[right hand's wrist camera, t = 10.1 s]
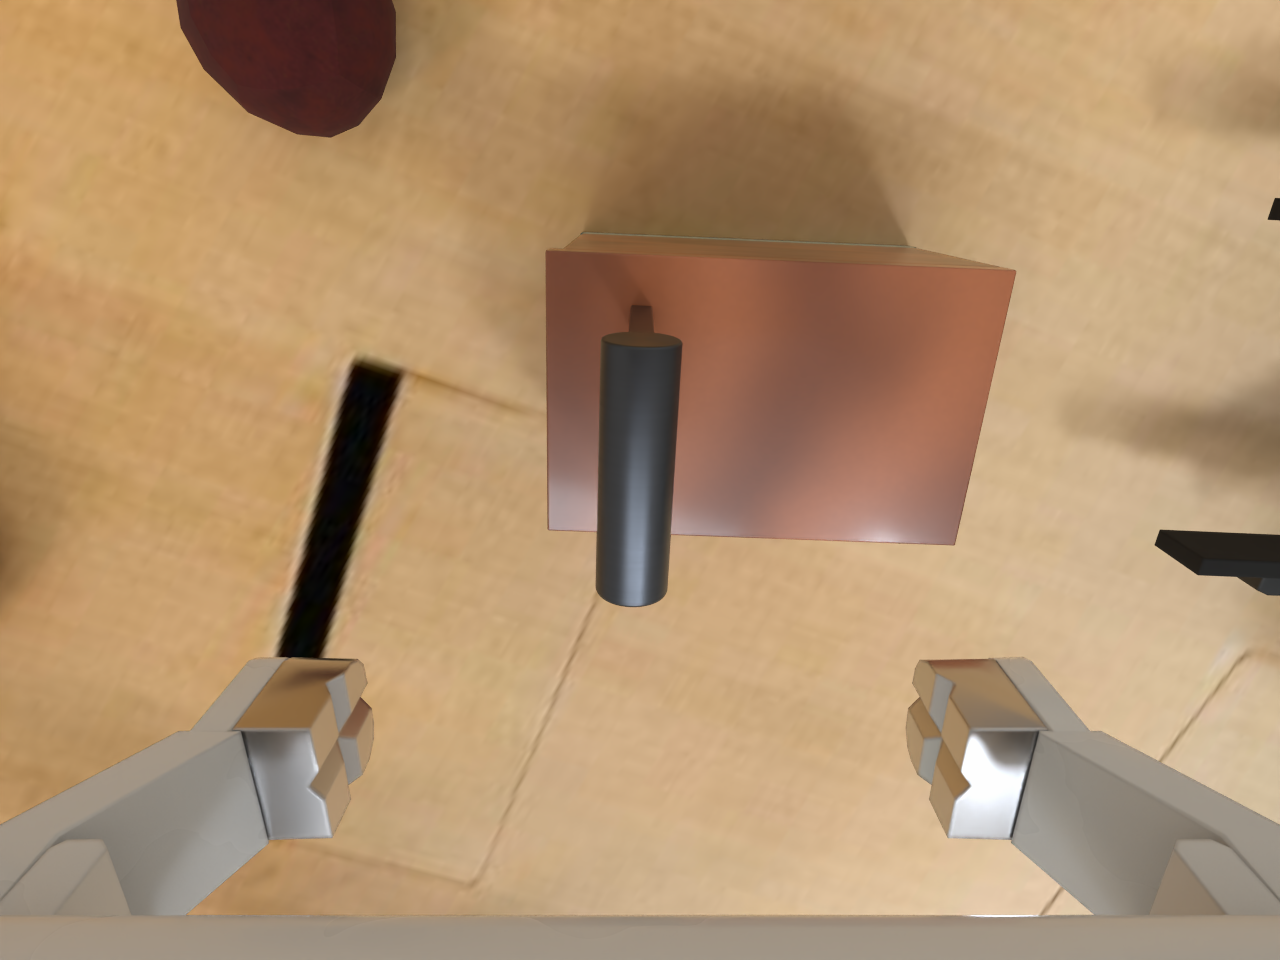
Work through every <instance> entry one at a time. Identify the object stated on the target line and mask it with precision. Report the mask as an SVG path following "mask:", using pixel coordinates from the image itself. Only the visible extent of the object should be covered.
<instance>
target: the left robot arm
mask: <svg viewBox="0 0 1280 960" xmlns="http://www.w3.org/2000/svg"><path fill="white" fill-rule="evenodd" d="M1268 220H1280V198H1275V199H1274V202H1273V205H1272V208H1271V211H1270V214H1269V217H1268ZM1155 546H1157V547H1158V548H1160V549H1161V550H1162V551H1164V552H1165V553H1167V554H1168V555H1170V556H1171V557H1173V558H1174V559H1175V560H1177V561H1178V562H1180V563H1181V564H1183V565H1184V566H1185V567H1187V568H1188V569H1190V570H1191V571H1193V572H1194V573H1196V574H1197V575H1207V576H1231V577H1238V578H1239V579H1241V580H1242V581H1244V582H1245V583H1247V584H1249V585H1250V586H1252V587H1253V588H1255V589H1256V590H1258V591H1260V592H1262V593H1264V594H1266V595H1277V596H1280V535H1268V534H1245V533H1223V532H1200V531H1177V530H1160V531H1159V534H1158V537H1157V540H1156V542H1155Z"/></svg>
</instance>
